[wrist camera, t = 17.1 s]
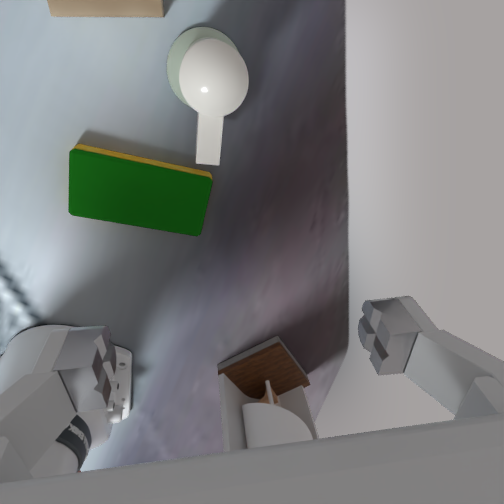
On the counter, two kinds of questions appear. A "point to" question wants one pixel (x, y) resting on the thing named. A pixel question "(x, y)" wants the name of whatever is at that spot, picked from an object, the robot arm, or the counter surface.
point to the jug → (212, 91)
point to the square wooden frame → (106, 8)
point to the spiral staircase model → (264, 398)
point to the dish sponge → (137, 190)
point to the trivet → (180, 49)
